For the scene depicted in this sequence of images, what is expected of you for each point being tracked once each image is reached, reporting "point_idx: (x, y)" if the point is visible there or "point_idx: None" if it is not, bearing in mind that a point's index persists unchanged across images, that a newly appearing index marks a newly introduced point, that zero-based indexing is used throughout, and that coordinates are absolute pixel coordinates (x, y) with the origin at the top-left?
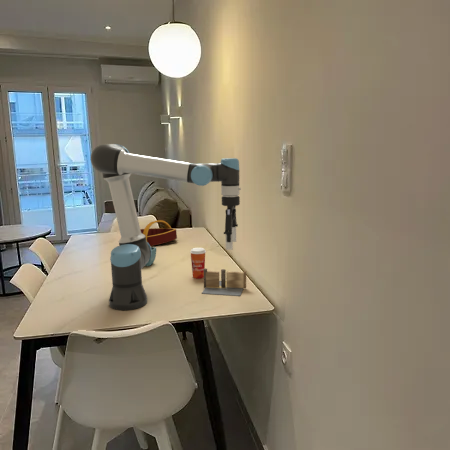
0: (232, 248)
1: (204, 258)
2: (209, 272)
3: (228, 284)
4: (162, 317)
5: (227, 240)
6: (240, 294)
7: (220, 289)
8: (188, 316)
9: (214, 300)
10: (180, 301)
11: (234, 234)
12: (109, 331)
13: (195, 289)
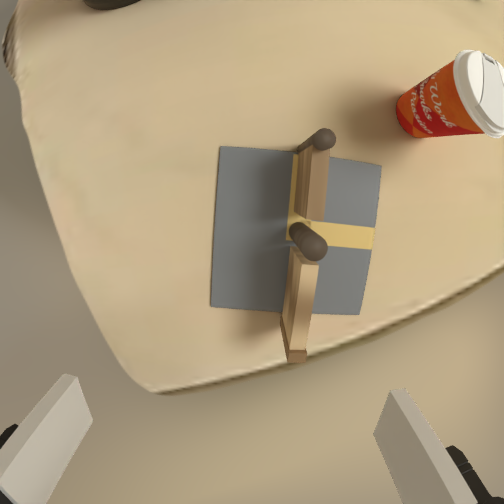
0: (82, 423)
1: (463, 130)
2: (311, 165)
3: (291, 258)
4: (36, 93)
5: (5, 436)
6: (221, 306)
7: (270, 221)
8: (39, 159)
9: (155, 212)
10: (137, 89)
11: (401, 477)
12: (3, 36)
13: (269, 112)
